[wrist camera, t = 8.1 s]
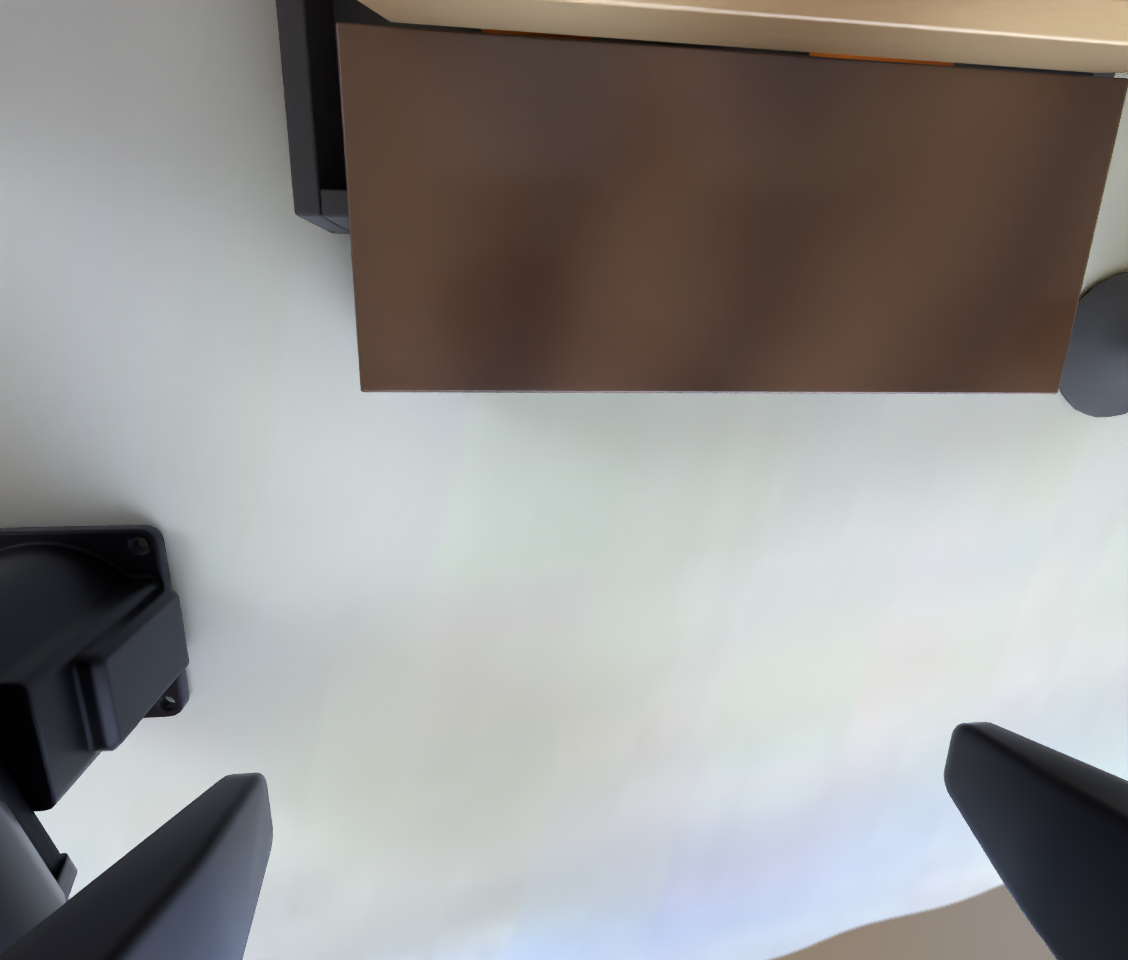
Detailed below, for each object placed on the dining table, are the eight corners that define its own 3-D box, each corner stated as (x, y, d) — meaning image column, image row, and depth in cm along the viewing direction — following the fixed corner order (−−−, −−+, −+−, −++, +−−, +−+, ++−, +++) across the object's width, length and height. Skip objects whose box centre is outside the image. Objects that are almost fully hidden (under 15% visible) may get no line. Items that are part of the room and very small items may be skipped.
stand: (396, 369, 19) (360, 392, 14) (382, 110, 17) (334, 20, 12) (913, 372, 21) (1058, 394, 16) (952, 141, 19) (1130, 77, 14)
